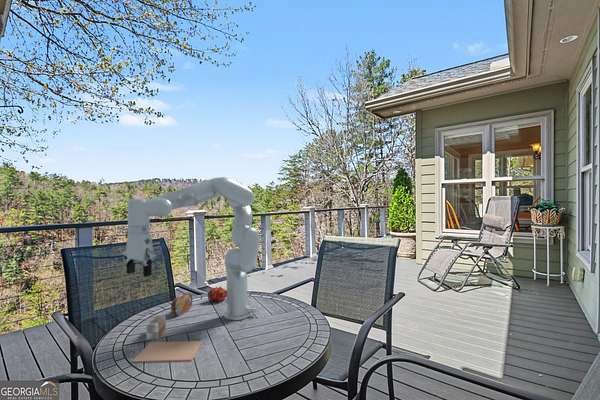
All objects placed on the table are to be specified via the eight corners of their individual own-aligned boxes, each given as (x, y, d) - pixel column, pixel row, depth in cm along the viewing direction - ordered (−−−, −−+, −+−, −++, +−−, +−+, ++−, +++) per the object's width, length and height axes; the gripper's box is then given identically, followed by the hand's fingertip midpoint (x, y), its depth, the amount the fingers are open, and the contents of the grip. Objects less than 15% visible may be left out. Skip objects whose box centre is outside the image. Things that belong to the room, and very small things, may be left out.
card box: (165, 329, 135) (165, 315, 135) (156, 339, 126) (156, 324, 126) (156, 330, 135) (155, 316, 135) (146, 339, 126) (146, 324, 126)
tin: (175, 318, 148) (175, 300, 148) (169, 318, 149) (169, 300, 149) (193, 307, 163) (192, 290, 163) (187, 306, 164) (187, 290, 164)
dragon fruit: (205, 306, 169) (226, 304, 176) (212, 299, 164) (233, 298, 171) (203, 291, 173) (223, 290, 181) (209, 284, 168) (230, 283, 176)
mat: (202, 342, 124) (202, 340, 124) (191, 360, 110) (191, 359, 110) (150, 343, 123) (150, 342, 123) (132, 362, 109) (132, 361, 109)
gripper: (162, 230, 123) (162, 274, 123) (133, 228, 131) (133, 270, 131) (145, 232, 116) (145, 279, 116) (115, 230, 124) (115, 274, 124)
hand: (139, 274), depth 123 cm, fingers open, 9 cm apart
